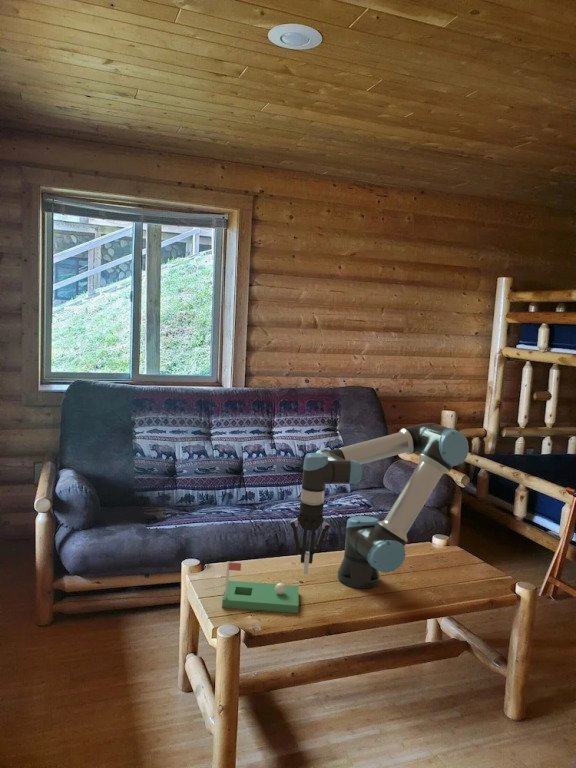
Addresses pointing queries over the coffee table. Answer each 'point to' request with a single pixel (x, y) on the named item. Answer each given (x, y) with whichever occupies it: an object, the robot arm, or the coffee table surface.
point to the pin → (229, 567)
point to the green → (261, 597)
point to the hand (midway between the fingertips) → (305, 572)
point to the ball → (280, 588)
